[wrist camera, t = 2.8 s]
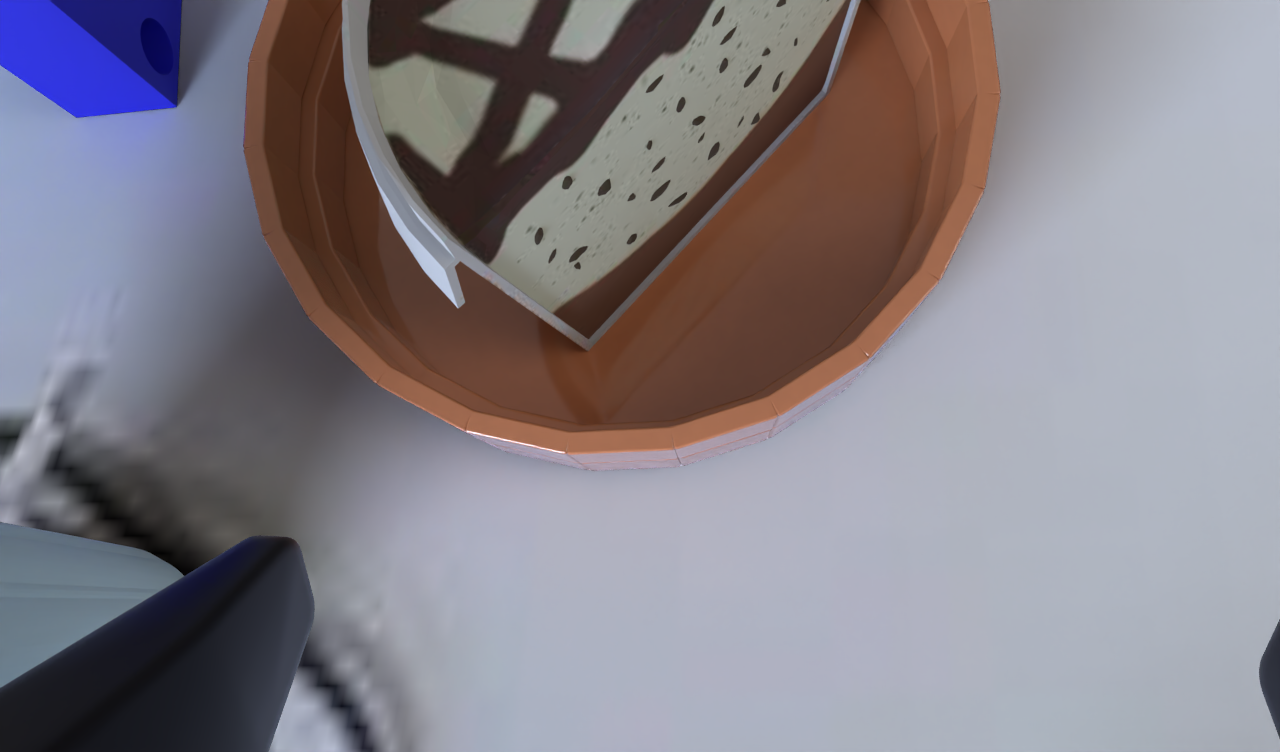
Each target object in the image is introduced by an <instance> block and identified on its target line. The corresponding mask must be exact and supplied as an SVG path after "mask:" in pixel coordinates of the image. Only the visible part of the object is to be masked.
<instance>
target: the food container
mask: <svg viewBox="0 0 1280 752" xmlns="http://www.w3.org/2000/svg"><path fill="white" fill-rule="evenodd" d="M860 1H861V0H342V13H343V22H342V44H343V62H344V81H345V85H346V90H347V94H348V98H349V103H350V107H351V111H352V116H353V120H354V124H355V129H356V133H357V136H358V138H359V141H360V143H361V146H362V149H363V151H364V154H365V156H366V159H367V162H368V164H369V167H370V169H371V172H372V175H373V177H374V180H375V182H376V184H377V186H378V189H379V191H380V193H381V196H382V198H383V200H384V203H385V205H386V207H387V210H388V212H389V214H390V217H391V219H392V221H393V224H394V226H395V228H396V229H397V231H398V232H399V234H400V235H401V237H402V238H403V240H404V241H405V243H406V244H407V246H408V247H409V249H410V250H411V252H412V254H413V255H414V257H415V258H416V260H417V261H418V263H419V264H420V266H421V267H422V269H423V270H424V272H425V273H426V274H427V275H428V276H429V277H430V278H431V279H432V281H433V282H434V283H435V284H436V285H437V286H438V287H439V288H440V289H441V290H442V291H443V292H444V294H445V295H446V296H447V297H448V298H449V299H450V300H451V301H452V302H453V303H454V304H455V306H456V307H457V308H459V307H461V306H462V305H463V304H464V303H465V300H464V297H463V293H462V290H461V287H460V283H459V280H458V277H457V273H456V270H455V266H456V265H457V264H458V263H459V262H460V261H461V262H462V263H464V264H465V265H466V266H468V267H469V268H471V269H472V270H473V271H475V272H476V273H478V274H479V275H480V276H482V277H483V278H485V279H486V280H487V281H489V282H490V283H492V284H493V285H495V286H496V287H497V288H499V289H500V290H502V291H503V292H504V293H506V294H507V295H509V296H510V297H511V298H513V299H514V300H516V301H517V302H519V303H520V304H521V305H523V306H524V307H526V308H527V309H528V310H530V311H531V312H533V313H534V314H535V315H537V316H538V317H540V318H541V319H543V320H544V321H545V322H547V323H548V324H550V325H551V326H552V327H554V328H555V329H557V330H558V331H559V332H561V333H562V334H564V335H565V336H566V337H568V338H569V339H571V340H572V341H574V342H575V343H576V344H578V345H579V346H581V347H582V348H583V349H585V350H586V351H589V350H590V349H591V348H592V347H593V345H594V344H595V343H596V342H597V341H598V340H599V339H600V338H601V337H602V336H603V335H604V334H605V333H606V332H607V330H608V329H609V328H610V327H611V326H612V325H613V324H614V323H615V322H616V321H617V320H618V319H619V318H620V317H621V315H622V314H623V313H624V312H625V311H626V310H627V309H628V308H629V307H630V306H631V305H632V304H633V303H634V302H635V301H636V299H637V298H638V297H639V296H640V295H641V294H642V293H643V292H644V291H645V290H646V289H647V288H648V287H649V286H650V284H651V283H652V282H653V281H654V280H655V279H656V278H657V277H658V276H659V275H660V274H661V273H662V272H663V271H664V269H665V268H666V267H667V266H668V265H669V264H670V263H671V262H672V261H673V260H674V259H675V258H676V257H677V256H678V254H679V253H680V252H681V251H682V250H683V249H684V248H685V247H686V246H687V245H688V244H689V243H690V242H691V241H692V239H693V238H694V237H695V236H696V235H697V234H698V233H699V232H700V231H701V230H702V229H703V228H704V227H705V226H706V224H707V223H708V222H709V221H710V220H711V219H712V218H713V217H714V216H715V215H716V214H717V213H718V212H719V211H720V209H721V208H722V207H723V206H724V205H725V204H726V203H727V202H728V201H729V200H730V199H731V198H732V197H733V196H734V194H735V193H736V192H737V191H738V190H739V189H740V188H741V187H742V186H743V185H744V184H745V183H746V182H747V181H748V180H749V178H750V177H751V176H752V175H753V174H754V173H755V172H756V171H757V170H758V169H759V168H760V167H761V166H762V165H763V163H764V162H765V161H766V160H767V159H768V158H769V157H770V156H771V155H772V154H773V153H774V152H775V151H776V150H777V148H778V147H779V146H780V145H781V144H782V143H783V142H784V141H785V140H786V139H787V138H788V137H789V136H790V135H791V133H792V132H793V131H794V130H795V129H796V128H797V127H798V126H799V125H800V124H801V123H802V122H803V121H804V120H805V118H806V117H807V116H808V115H809V114H810V113H811V112H812V111H813V110H814V109H815V108H816V107H817V106H818V105H819V103H820V102H821V101H822V100H823V99H824V98H825V97H826V96H827V95H828V94H829V93H830V90H831V87H832V85H833V82H834V79H835V76H836V73H837V70H838V67H839V64H840V61H841V58H842V55H843V52H844V49H845V46H846V43H847V40H848V37H849V34H850V31H851V28H852V25H853V22H854V19H855V16H856V13H857V10H858V7H859V4H860Z"/></svg>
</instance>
